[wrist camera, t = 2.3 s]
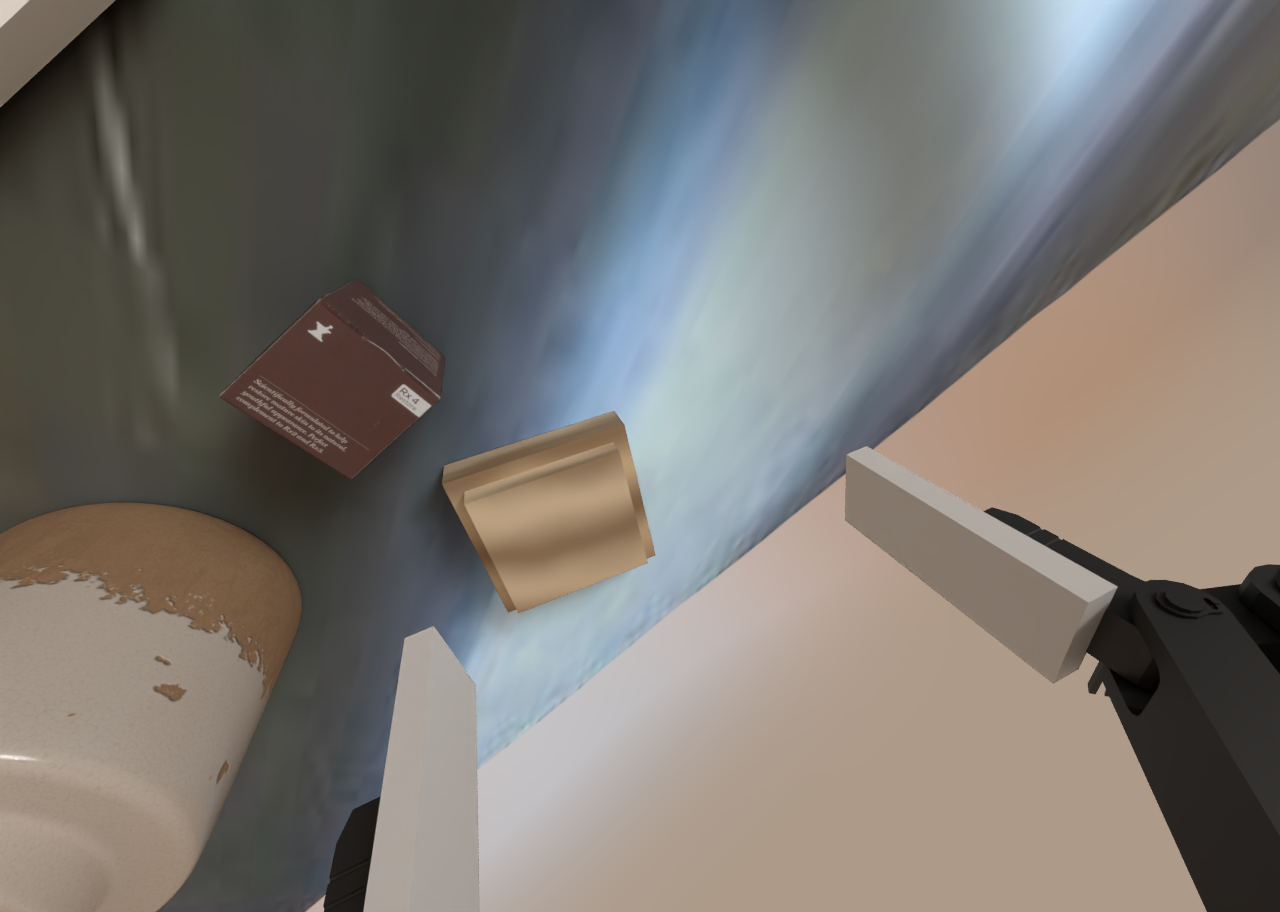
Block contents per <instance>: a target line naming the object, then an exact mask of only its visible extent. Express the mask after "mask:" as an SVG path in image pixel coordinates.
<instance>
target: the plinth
mask: <svg viewBox="0 0 1280 912" xmlns="http://www.w3.org/2000/svg"><path fill="white" fill-rule="evenodd" d="M442 485H443V487H444V489H445V491H446V493H447V495H448V497H449V499H450V501H451V503H452V505H453V507H454V509H455V510H456V512H457V514H458V516H459V518H460V520H461V522H462V524H463V526H464V528H465V530H466V532H467V534H468V536H469V538H470V539H471V541H472V543H473V545H474V547H475V549H476V551H477V553H478V555H479V557H480V559H481V561H482V563H483V565H484V567H485V568H486V570H487V572H488V574H489V576H490V578H491V580H492V582H493V584H494V586H495V588H496V590H497V592H498V594H499V596H500V597H501V599H502V601H503V603H504V605H505V607H506V609H507V611H508V612H510V611H513V610H516V609H517V611H518V613H520V612H523V611H526V610H528V609H531V608H533V607H536V606H538V605H541V604H543V603H546V602H549V601H551V600H554V599H556V598H559V597H561V596H564V595H567V594H569V593H572V592H574V591H577V590H579V589H582V588H584V587H587V586H590V585H592V584H595V583H597V582H600V581H602V580H605V579H608V578H610V577H613V576H615V575H618V574H620V573H623V572H625V571H628V570H631V569H633V568H636V567H638V566H641V565H643V564H646V563H648V562H647V558H649V557H652V556H655V552H654V547H653V543H652V539H651V535H650V531H649V527H648V522H647V518H646V514H645V510H644V506H643V501H642V497H641V493H640V489H639V485H638V480H637V476H636V472H635V468H634V464H633V460H632V455H631V451H630V447H629V443H628V439H627V434H626V430H625V426H624V424H623V422H622V421H621V420H620V418H619V417H618V415H617V414H616V413H615V411H612V412H609V413H606V414H603V415H600V416H597V417H594V418H591V419H588V420H584V421H581V422H578V423H575V424H572V425H569V426H566V427H563V428H560V429H556V430H553V431H550V432H547V433H544V434H541V435H538V436H535V437H532V438H528V439H525V440H522V441H519V442H516V443H513V444H510V445H507V446H504V447H500V448H497V449H494V450H491V451H488V452H485V453H482V454H479V455H476V456H472V457H469V458H466V459H463V460H460V461H457V462H454V463H451V464H448V465H444V471H443V480H442Z"/></svg>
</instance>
